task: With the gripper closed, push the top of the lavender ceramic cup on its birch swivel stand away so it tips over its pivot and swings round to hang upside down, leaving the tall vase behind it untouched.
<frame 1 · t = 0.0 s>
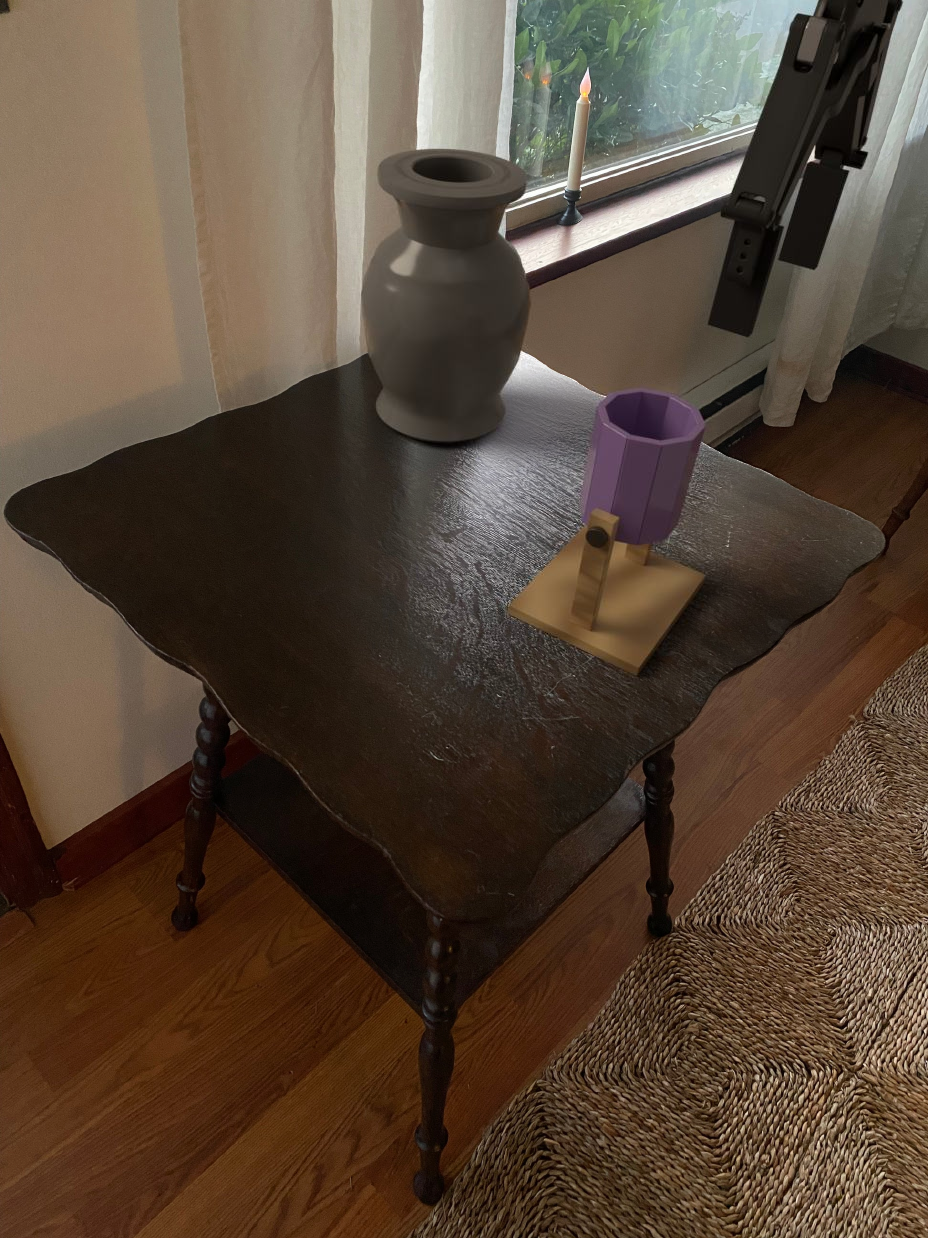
hand: (765, 294, 60), 27 cm above the table, tool pointing down, fingers open, 13 cm apart
vase: (440, 414, 98), on the table
swivel stand: (608, 598, 77), on the table
cup: (638, 466, 68), point 14 cm above the table, hinge at 0.0°
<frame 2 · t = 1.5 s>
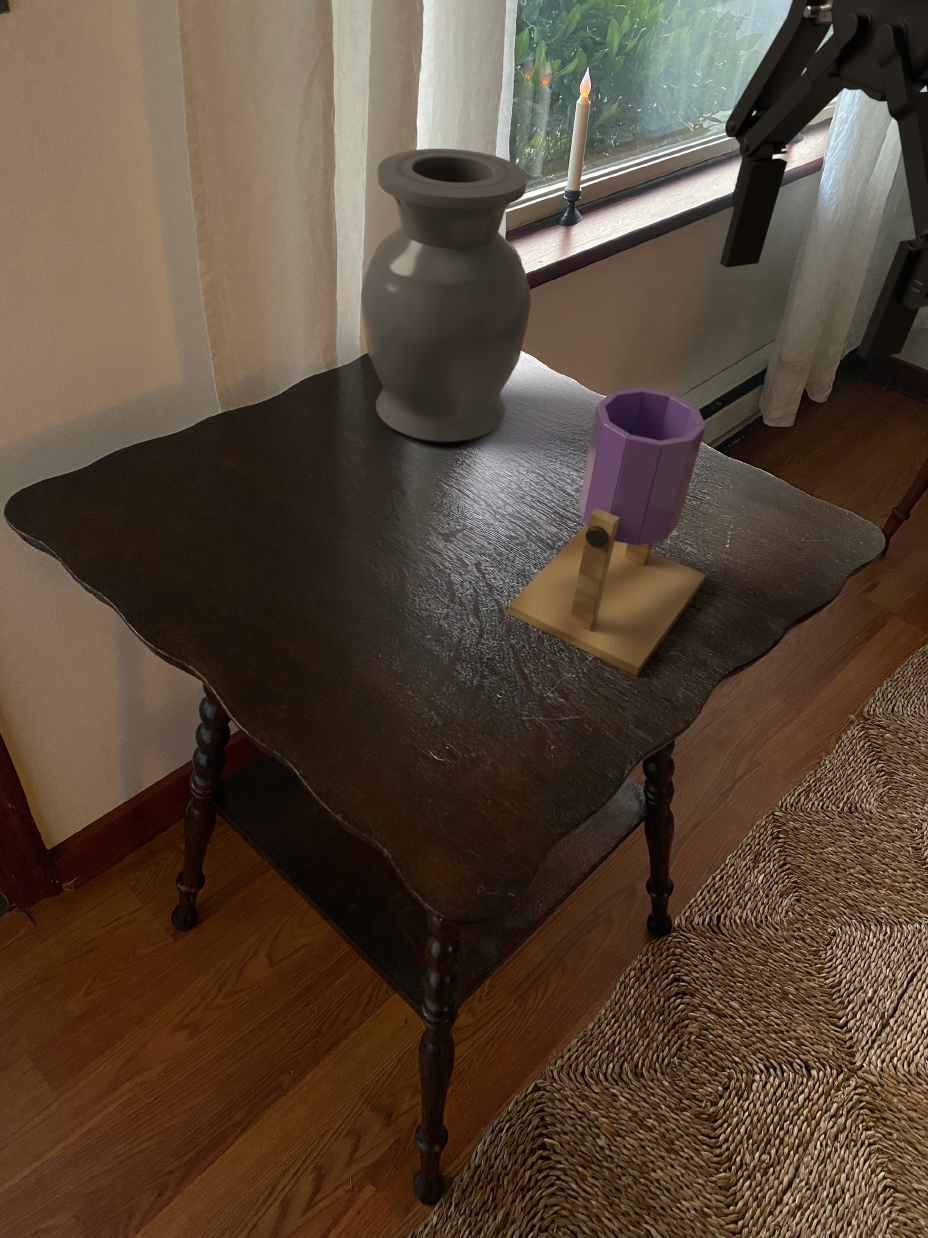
hand: (803, 305, 57), 28 cm above the table, tool pointing down, fingers open, 13 cm apart
nothing on the table moved.
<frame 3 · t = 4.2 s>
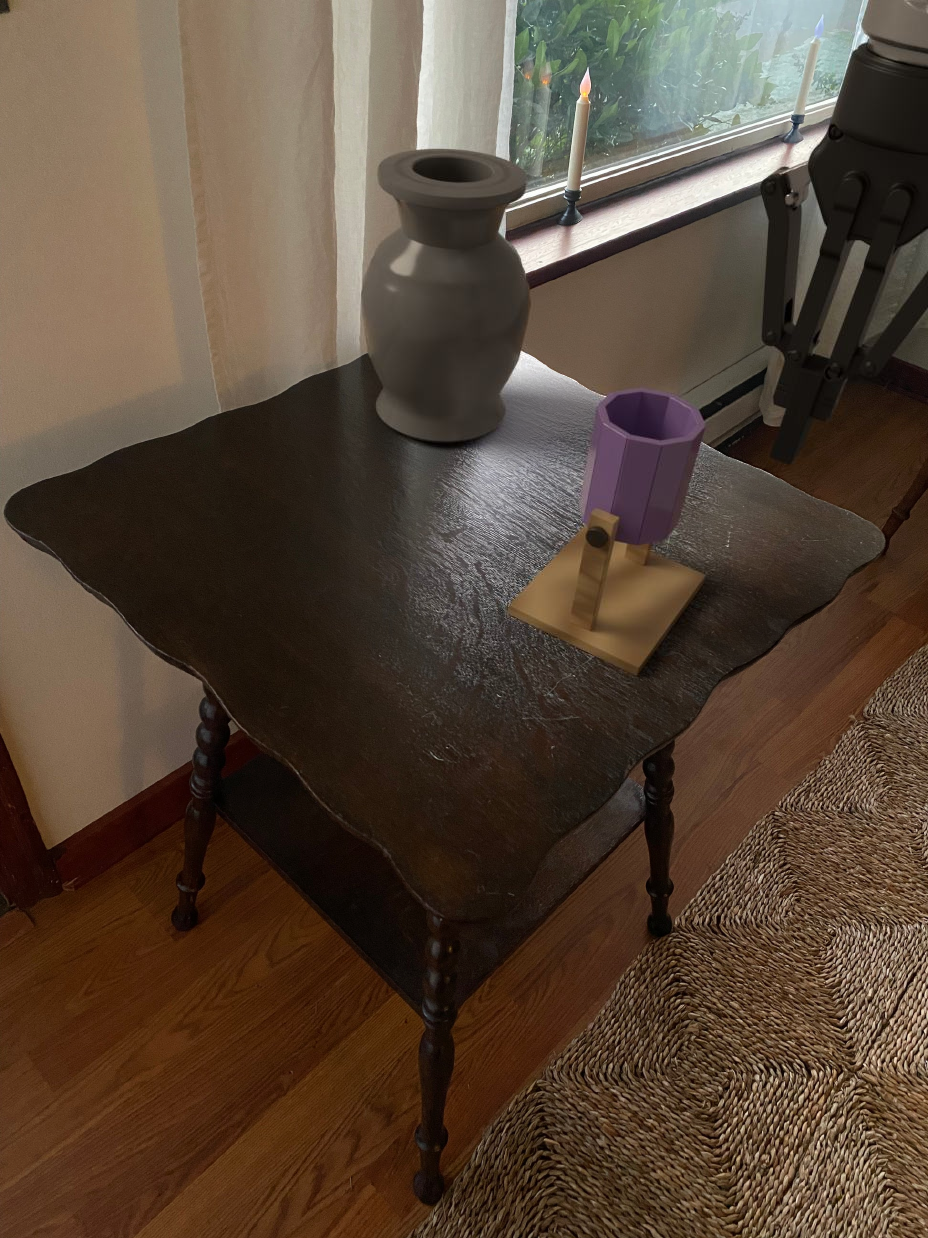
hand: (786, 452, 61), 19 cm above the table, tool pointing down, fingers closed
nothing on the table moved.
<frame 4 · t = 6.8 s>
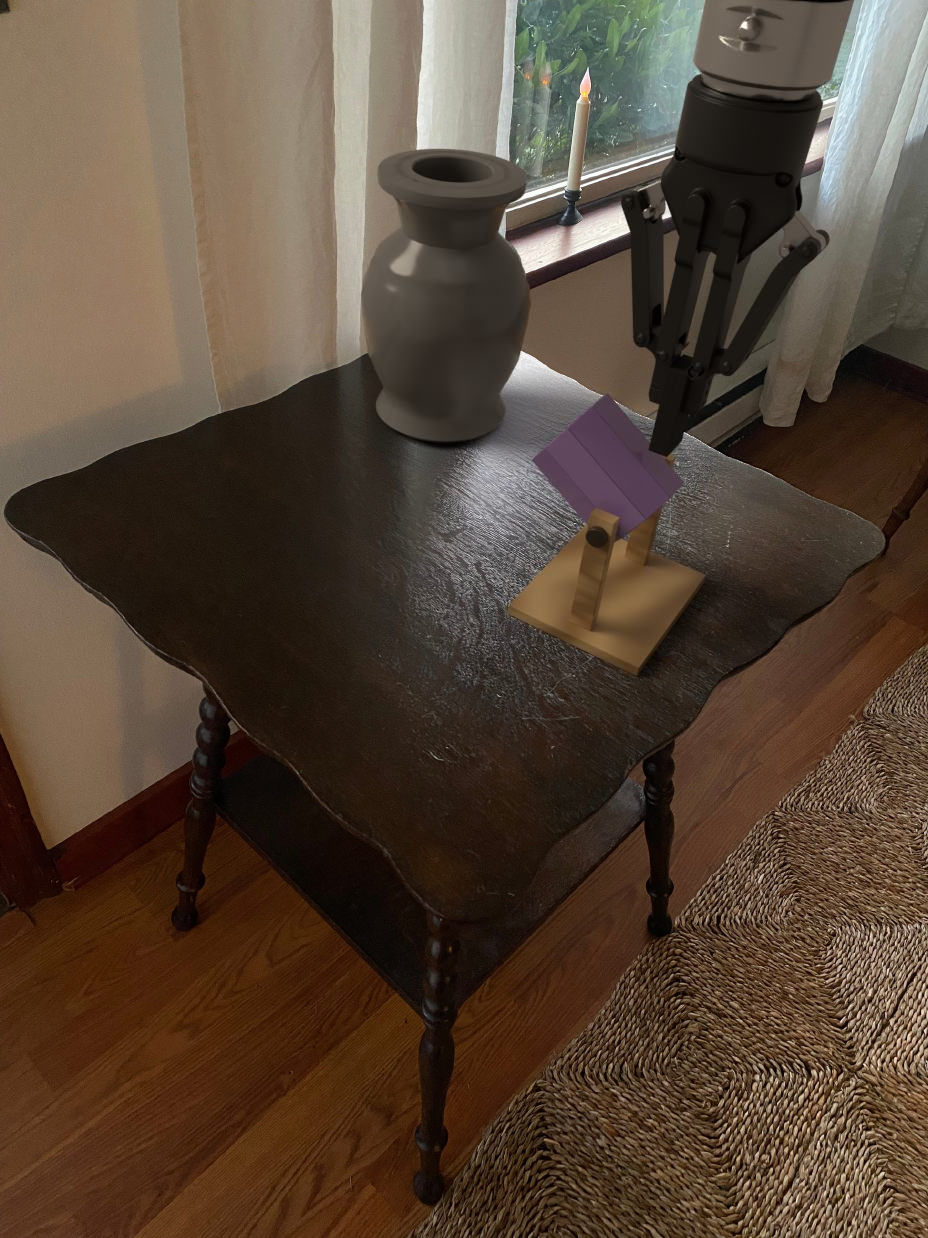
hand: (665, 445, 66), 16 cm above the table, tool pointing down, fingers closed
cup: (606, 470, 70), point 12 cm above the table, hinge at 56.9°
everything else where it was.
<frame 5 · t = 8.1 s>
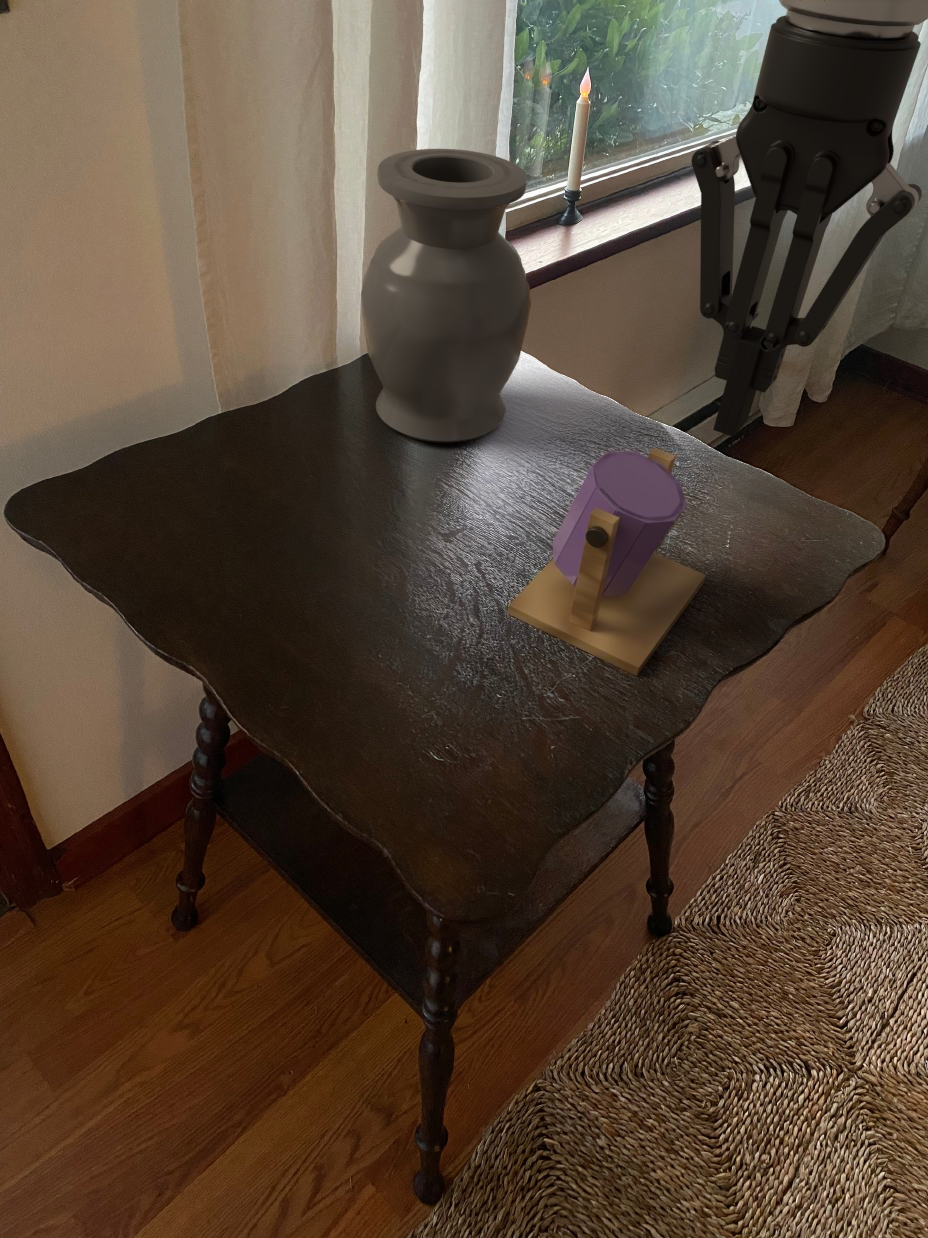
hand: (730, 424, 62), 19 cm above the table, tool pointing down, fingers closed
cup: (616, 525, 72), point 8 cm above the table, hinge at 165.6°
everything else where it was.
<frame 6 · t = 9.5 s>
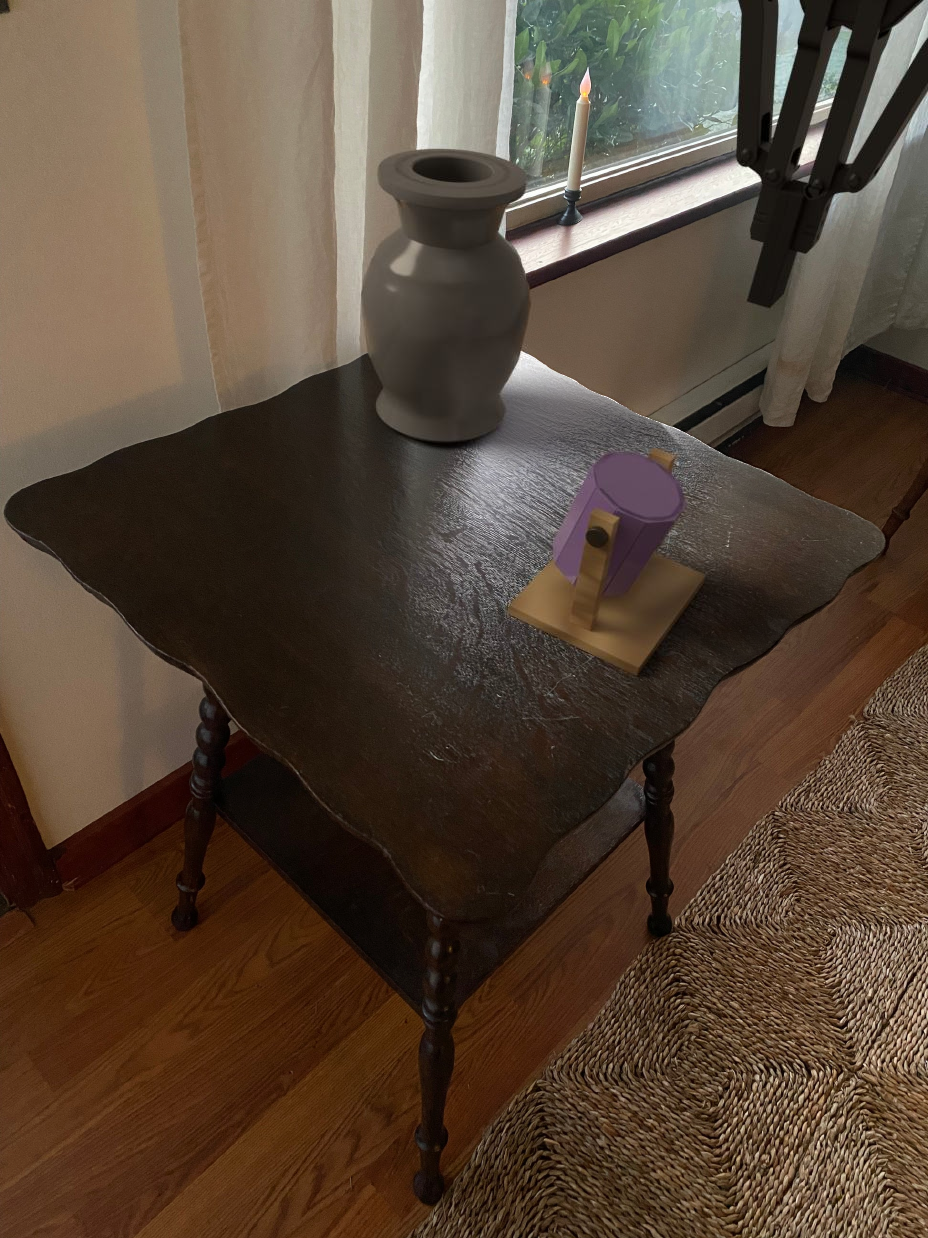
hand: (765, 297, 56), 28 cm above the table, tool pointing down, fingers closed
nothing on the table moved.
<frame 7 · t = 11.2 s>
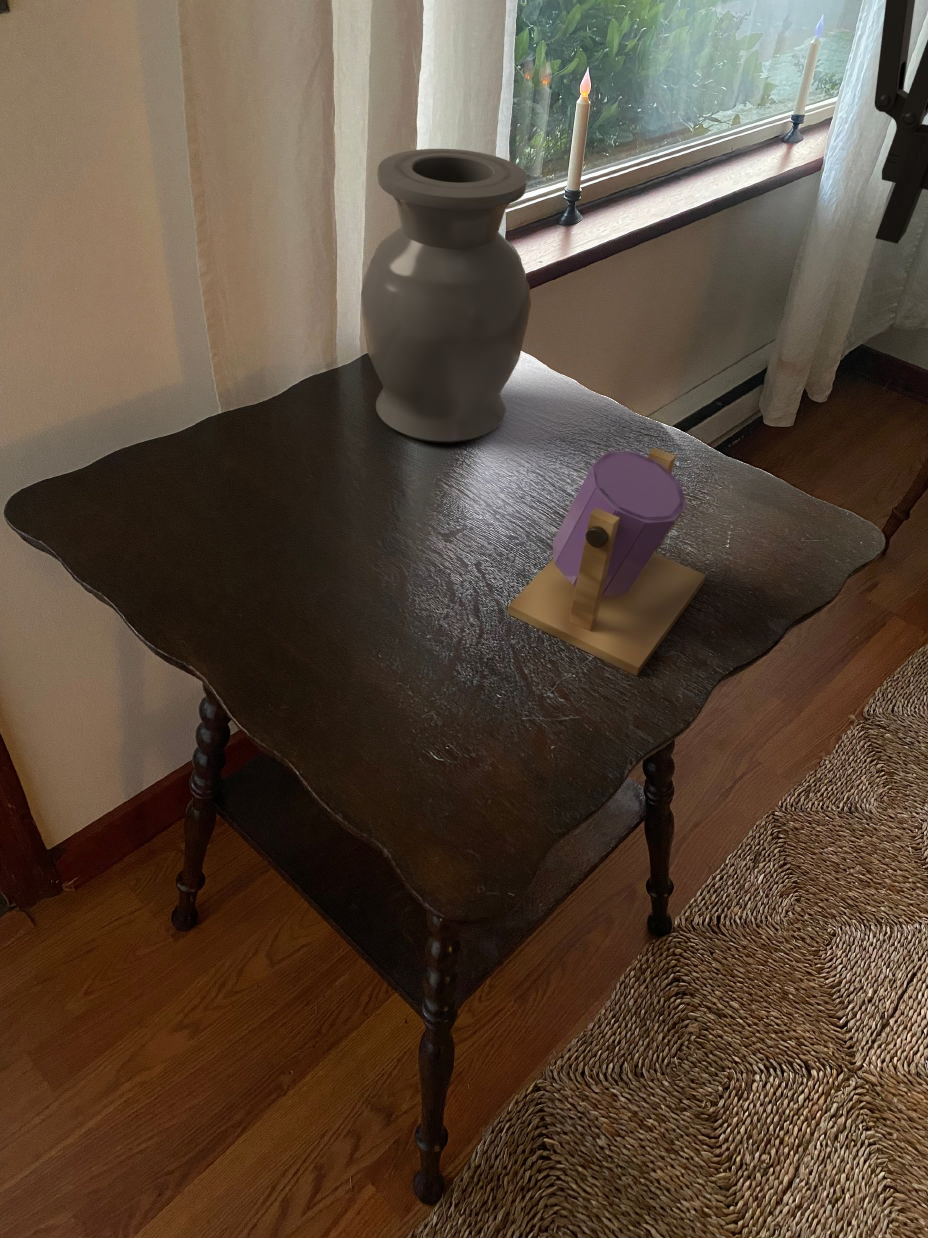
hand: (890, 234, 61), 30 cm above the table, tool pointing down, fingers closed
nothing on the table moved.
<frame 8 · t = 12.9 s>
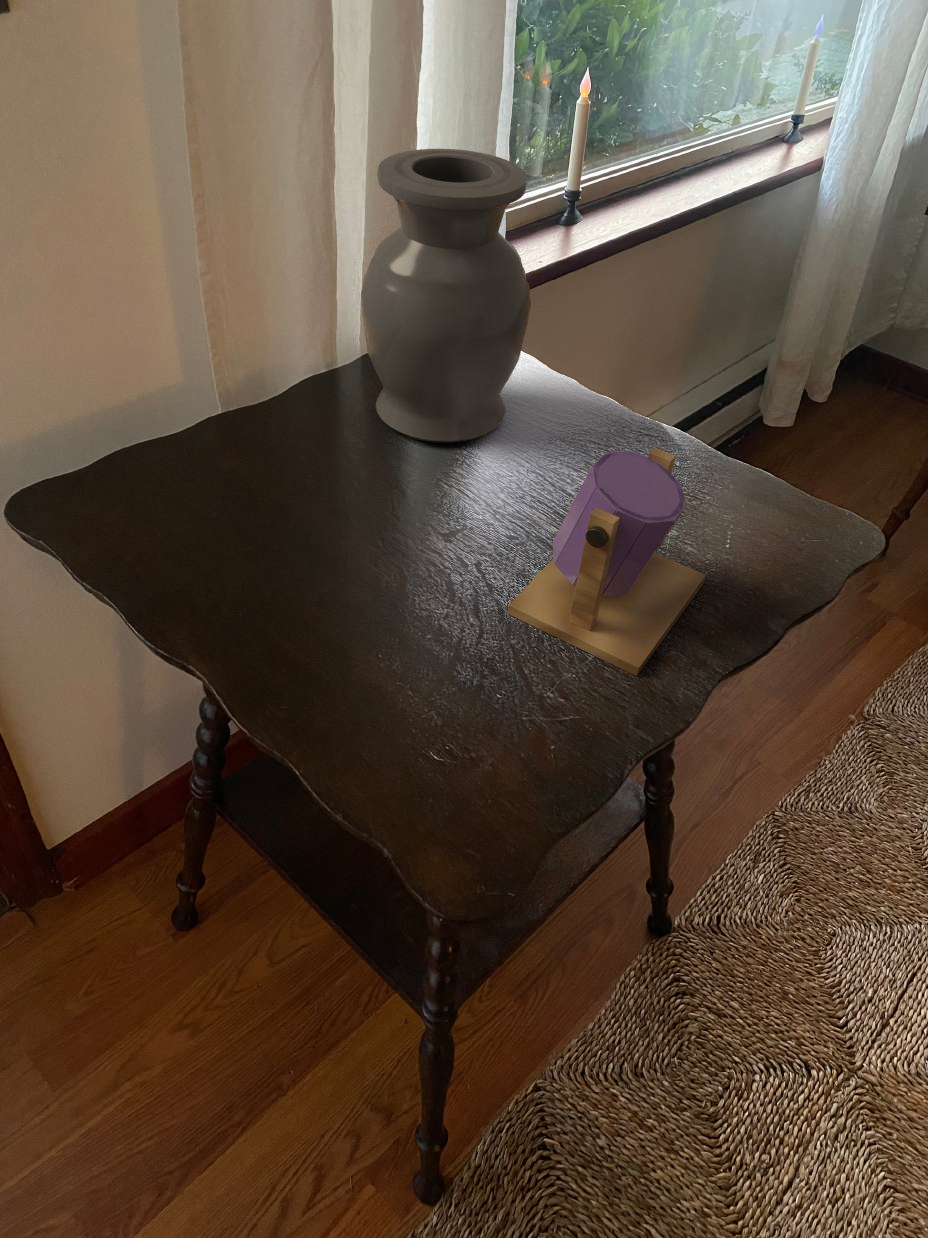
nothing on the table moved.
at the end: cup at +166° (first picture: +0°); vase moved 0.2 cm from its start; the gripper is holding nothing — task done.
